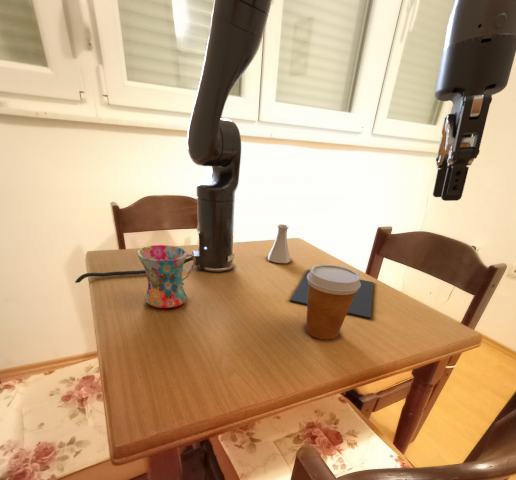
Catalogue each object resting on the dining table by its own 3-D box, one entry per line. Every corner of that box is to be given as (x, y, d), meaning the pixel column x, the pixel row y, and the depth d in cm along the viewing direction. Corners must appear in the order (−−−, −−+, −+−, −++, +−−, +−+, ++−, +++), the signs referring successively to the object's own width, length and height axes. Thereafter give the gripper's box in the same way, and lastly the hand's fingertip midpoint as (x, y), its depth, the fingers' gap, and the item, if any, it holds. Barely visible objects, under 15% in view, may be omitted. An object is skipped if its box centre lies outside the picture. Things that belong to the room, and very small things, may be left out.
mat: (370, 319, 67) (370, 317, 67) (290, 301, 71) (290, 299, 71) (372, 283, 85) (373, 282, 85) (308, 270, 89) (308, 269, 89)
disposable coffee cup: (348, 325, 64) (364, 269, 57) (343, 349, 56) (361, 288, 50) (303, 315, 66) (313, 260, 59) (292, 337, 58) (302, 276, 52)
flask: (292, 258, 97) (297, 224, 92) (288, 265, 91) (293, 230, 86) (269, 254, 98) (273, 221, 93) (264, 261, 92) (268, 226, 87)
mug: (157, 316, 61) (151, 263, 55) (135, 298, 66) (128, 248, 60) (208, 301, 68) (207, 253, 62) (185, 286, 73) (182, 240, 67)
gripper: (434, 67, 43) (411, 196, 50) (454, 24, 31) (420, 202, 39) (499, 58, 41) (465, 195, 48) (546, 8, 29) (491, 201, 36)
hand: (445, 198), depth 43 cm, fingers open, 8 cm apart
